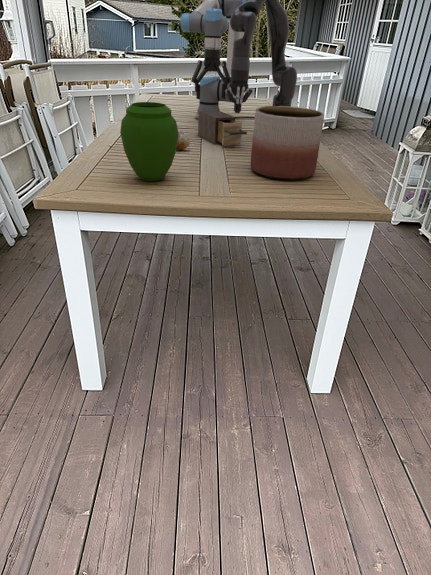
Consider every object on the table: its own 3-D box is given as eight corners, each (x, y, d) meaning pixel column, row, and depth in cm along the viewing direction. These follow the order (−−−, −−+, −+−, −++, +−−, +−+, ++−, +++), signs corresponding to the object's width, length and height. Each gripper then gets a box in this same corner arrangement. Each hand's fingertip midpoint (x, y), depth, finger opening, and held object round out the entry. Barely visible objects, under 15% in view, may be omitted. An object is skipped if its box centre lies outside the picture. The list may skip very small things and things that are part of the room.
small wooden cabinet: (233, 143, 199) (235, 117, 193) (214, 144, 195) (215, 117, 189) (216, 134, 214) (217, 109, 208) (197, 135, 210) (198, 110, 204)
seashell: (189, 148, 186) (189, 129, 181) (190, 151, 181) (190, 132, 177) (168, 148, 184) (168, 129, 180) (169, 151, 180) (168, 132, 175)
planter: (324, 181, 152) (336, 118, 140) (258, 182, 148) (265, 117, 136) (301, 162, 173) (310, 106, 162) (243, 162, 169) (248, 104, 157)
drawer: (246, 147, 188) (248, 125, 183) (228, 149, 184) (230, 126, 179) (223, 136, 207) (224, 115, 201) (206, 136, 203) (207, 116, 198)
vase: (131, 189, 135) (125, 110, 122) (118, 172, 150) (112, 100, 137) (186, 184, 142) (187, 109, 129) (169, 168, 157) (167, 99, 144)
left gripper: (232, 49, 197) (230, 97, 208) (184, 47, 188) (184, 98, 199) (240, 50, 191) (236, 99, 203) (190, 48, 182) (190, 100, 193)
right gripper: (249, 67, 176) (246, 111, 186) (222, 67, 171) (220, 111, 181) (258, 69, 171) (254, 114, 180) (230, 69, 166) (227, 114, 175)
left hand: (210, 98), depth 201 cm, fingers open, 13 cm apart
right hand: (237, 112), depth 180 cm, fingers closed
